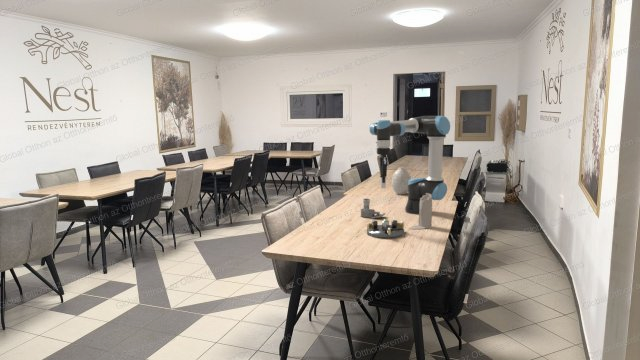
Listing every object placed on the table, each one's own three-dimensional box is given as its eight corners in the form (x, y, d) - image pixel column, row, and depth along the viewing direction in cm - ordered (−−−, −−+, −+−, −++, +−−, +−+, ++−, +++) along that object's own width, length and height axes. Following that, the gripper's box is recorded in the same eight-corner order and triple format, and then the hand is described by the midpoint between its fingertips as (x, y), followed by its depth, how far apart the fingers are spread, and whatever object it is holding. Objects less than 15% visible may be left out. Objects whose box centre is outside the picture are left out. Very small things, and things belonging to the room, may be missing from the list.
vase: (388, 192, 354) (389, 166, 351) (407, 191, 356) (408, 165, 352) (394, 196, 338) (394, 168, 335) (413, 195, 340) (414, 168, 337)
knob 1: (374, 226, 244) (374, 219, 243) (378, 227, 241) (378, 220, 240) (365, 229, 238) (365, 222, 238) (369, 230, 236) (369, 223, 235)
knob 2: (384, 231, 233) (384, 224, 233) (389, 231, 233) (389, 224, 233) (386, 235, 226) (386, 228, 225) (392, 235, 226) (392, 227, 225)
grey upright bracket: (407, 227, 249) (407, 194, 246) (426, 224, 254) (427, 192, 251) (414, 230, 243) (414, 196, 239) (434, 227, 248) (434, 194, 245)
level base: (400, 227, 249) (400, 214, 248) (407, 238, 228) (408, 223, 227) (364, 228, 249) (364, 215, 247) (369, 239, 228) (369, 224, 227)
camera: (364, 197, 279) (385, 199, 272) (364, 214, 281) (385, 217, 274) (359, 200, 271) (381, 202, 265) (359, 217, 274) (381, 220, 267)
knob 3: (390, 227, 241) (390, 220, 241) (393, 226, 244) (393, 219, 243) (402, 230, 236) (402, 222, 235) (405, 228, 238) (405, 221, 238)
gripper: (375, 146, 246) (375, 186, 250) (378, 148, 233) (378, 190, 237) (388, 146, 246) (387, 185, 250) (392, 148, 233) (391, 190, 237)
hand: (383, 188), depth 243 cm, fingers closed
